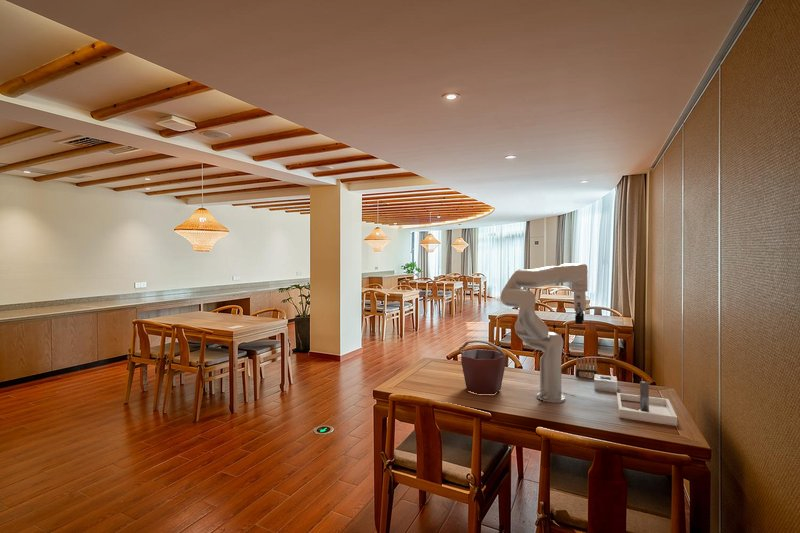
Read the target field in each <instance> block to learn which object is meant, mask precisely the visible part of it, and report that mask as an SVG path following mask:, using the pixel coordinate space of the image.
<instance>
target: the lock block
mask: <svg viewBox="0 0 800 533" xmlns="http://www.w3.org/2000/svg"><path fill="white" fill-rule="evenodd" d="M593 374H594V373H593ZM593 379H594V380H593V381H594V384H593V385H594V387H593V388H594V389H593V390H594V391H600V392H601V391H602V392H608V393H609V392H610V393H616V394H617V393H618V378H617V376H613V375H605V374H598V373H597V374H594V378H593Z"/></svg>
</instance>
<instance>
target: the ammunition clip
mask: <svg viewBox="0 0 800 533" xmlns="http://www.w3.org/2000/svg"><path fill="white" fill-rule="evenodd" d="M575 362H576V363H575V377H576V378H587V379H589V378H590V379H594V374H597V375H598V364H597V358H596V357H594V359H593V357H591V358H589V357H587V359H586V357H585V356H584V357H582V356H580V358H579V357H578V356H576V360H575Z"/></svg>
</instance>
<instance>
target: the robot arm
mask: <svg viewBox="0 0 800 533" xmlns="http://www.w3.org/2000/svg"><path fill="white" fill-rule="evenodd" d="M588 273H589V272H588V265H587V264H586V263H562V264H560V265H551V266H550V265H548V266H542V267H538V268H531V269H528V268H527V269H525V268H524V269H523V268H521V269H517V270H516V271H514V272H513V273H512V275H511V276H510V278H509V279H508V281H507V282H506V284H505V286H504V287H503V289H502V291H501V292H500V301H501V303H502V304H503V305H505V306H507V307H512V308H513V307H514V308H519V312H518V314H517V319H516V321H515V324H514V330H515V334H516V335H517V337H519V338H520V340H522V342H524V343H525V344H526V345H527V346H528V347H530V348H532V349H533V350H537V351H542V352H543V354H542V355H541V356H540V359H539V392H537V394H536V398H537V399H538V400H539V399H540V400H539V401H541V400H543V401H542V402H545V401H546V402H545V403H550V402H552V403H553V404H558V403H559V404H561V403H563V402H565V401H566V396H565V395H563V394H562V354H563V348H564V339H563V336H561V335H560V334H559V333H556V332H553V331H550V330H549V327H548V325H547V324H546V323H545V322H544V321H543V320H542V319H541V318H540V317H539V316H538V314H537V313H536V310H535V309H536V296H535V294H534V292H533V291H531V290H529V289H525V288H532V289H535V288H540V287H545V286H549V285H555V284H563V283H570V289H571V290H570V291H571V292H573V308H574V309H573V310H574V311H575V316H574V321H575V322H574V323H575V324H576V325H582V324H583V322H584V320H585V318H584V315H585V314H584V312H586V310H587V302H586V301H587V299H586V298H587V296H586V292H588V282H589V281H588Z"/></svg>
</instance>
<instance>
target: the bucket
mask: <svg viewBox="0 0 800 533" xmlns="http://www.w3.org/2000/svg"><path fill="white" fill-rule="evenodd" d="M472 343H479V344H486V345H489V346H490V347H492V348H494V349H495V350H493V349H485V348H484V349H482V348H474V349H468V350H463V349H465V348H466V347H467V346H468V345H469V344H472ZM462 350H463V351H462ZM458 351H459V352H458V353H460V354H461V358H460V359H461V362H460V363H461V366H462V374H463V376H464V384H465V388H466V391H467V390H468V391H471V392H474V393H477V394H495V393H496V392H498V391H499V390H500V391H501V389H502V384H503V379H504V373H505V369H506V362H507V354H506V353H505V351H504V350H503V349H502V348H501V347H499V346H498V345H496V344H494V343H493V342H491V341H485V340H470V341H466V342H465V343H464V344H463V345H462V346H460V347H459V348H458Z"/></svg>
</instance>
